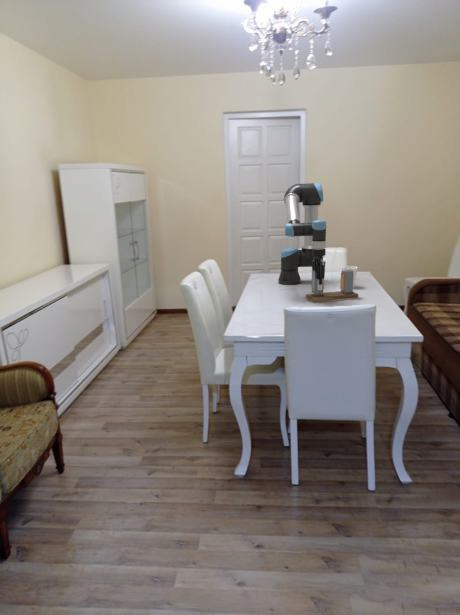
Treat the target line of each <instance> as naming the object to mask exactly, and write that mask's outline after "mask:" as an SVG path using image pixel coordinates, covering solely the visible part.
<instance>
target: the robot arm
mask: <svg viewBox="0 0 460 615" xmlns="http://www.w3.org/2000/svg"><path fill="white" fill-rule="evenodd" d="M283 196H284V197H283V202H284V205H285V208H286V220H287V221H286V222H287V223H285V224H284V236H285V237H291V238H292V237H303V245H302V246H301V249H299V247H296V246H294V247H287V248H284V249H282V250H281V251H280V273H279V276H278V279H277V280H278V281H277V283H278V284H279V285H280V284H281V285H285V286H289V285H298V284H301V281H302V280H301V276H300V273H299V268H311V271H312V270H318V278H317V290H322V279H323V278H324V279H325V278H326V277H325V272H326V264H327V263H326V261H324V257H325V256H326V253H327V252H326V247H327V221H326V220H324V219H323V220H322V219H319V207H321V205H322V203H323V202H324V190H323V186H322V184H321V183H317V182H316V183H315V182H309V183H295V184H293V185H291V186H290V187H289V188H288V189H287V190H286V192H285V193H284V195H283ZM299 203H301V204H302V207H303V208H304V222H301V215H300V214H301V213H300V207H299Z"/></svg>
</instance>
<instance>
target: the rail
mask: <svg viewBox="0 0 460 615" xmlns="http://www.w3.org/2000/svg"><path fill="white" fill-rule="evenodd" d="M305 299H306V300H308V302H309V301H310V302H311V303H313V304H315V303H316V304H317V303H326V302H334V300H337V301H344V300H346V299H347V300H355V299H359V293H357V292H354V291H353V293H350V294H343V293H341V290H338V291H328V292H326V291H325V292H323V293H319V294H314V293H309V294H306V295H305ZM347 300H346V301H347Z"/></svg>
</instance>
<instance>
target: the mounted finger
mask: <svg viewBox="0 0 460 615" xmlns="http://www.w3.org/2000/svg"><path fill="white" fill-rule="evenodd" d="M353 274H354V271H351V270H345V271H342V270H341V272H340V287H339V288H340V291H341V293H343V294H350V293H353V292H354V288H353Z"/></svg>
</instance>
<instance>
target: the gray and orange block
mask: <svg viewBox="0 0 460 615" xmlns="http://www.w3.org/2000/svg"><path fill="white" fill-rule="evenodd" d="M317 278H318V270H312V269H311V294H319V293H324V290H325V278H323V279H322V290H317Z"/></svg>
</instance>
